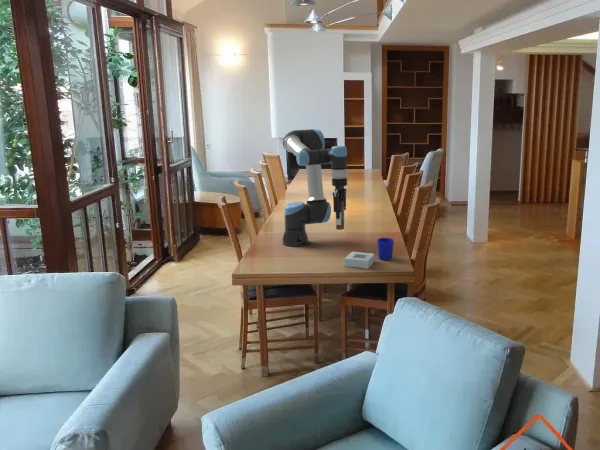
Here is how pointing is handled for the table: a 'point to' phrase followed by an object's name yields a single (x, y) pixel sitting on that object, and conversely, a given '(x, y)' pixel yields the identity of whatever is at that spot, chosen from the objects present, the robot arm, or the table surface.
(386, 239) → the mug
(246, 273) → the table surface
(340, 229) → the peg
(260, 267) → the table surface
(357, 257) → the socket
